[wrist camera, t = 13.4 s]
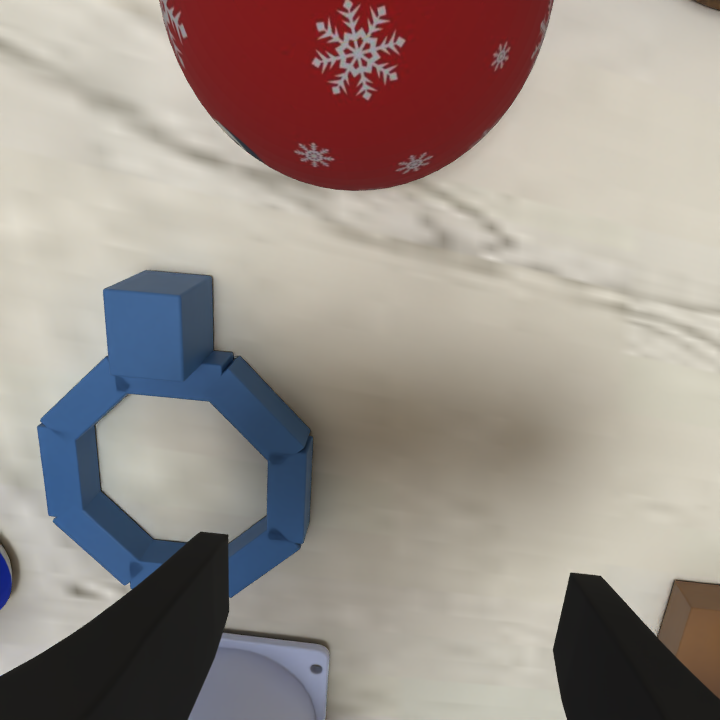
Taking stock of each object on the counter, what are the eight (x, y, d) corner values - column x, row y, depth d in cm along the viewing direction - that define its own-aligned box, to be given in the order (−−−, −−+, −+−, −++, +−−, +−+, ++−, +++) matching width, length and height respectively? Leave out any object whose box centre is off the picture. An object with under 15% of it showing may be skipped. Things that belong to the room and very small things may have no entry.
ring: (306, 584, 24) (292, 641, 21) (75, 557, 25) (32, 610, 22) (320, 284, 20) (304, 306, 17) (41, 260, 21) (-18, 278, 18)
